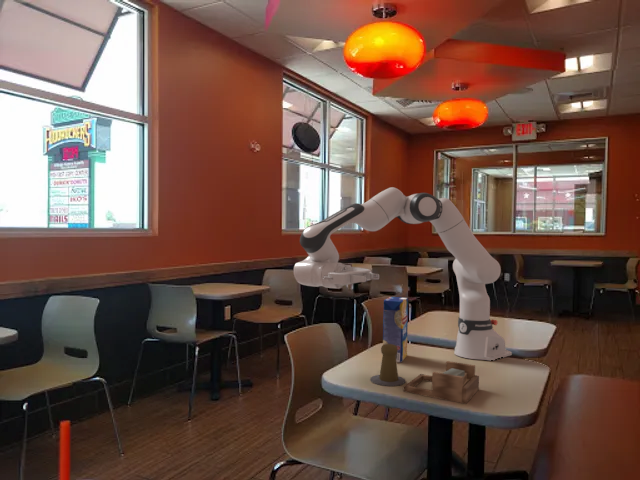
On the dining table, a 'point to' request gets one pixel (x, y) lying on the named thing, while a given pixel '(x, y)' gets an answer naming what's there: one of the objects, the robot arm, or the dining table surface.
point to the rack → (448, 383)
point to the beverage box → (396, 325)
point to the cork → (389, 363)
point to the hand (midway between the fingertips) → (372, 278)
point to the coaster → (376, 380)
